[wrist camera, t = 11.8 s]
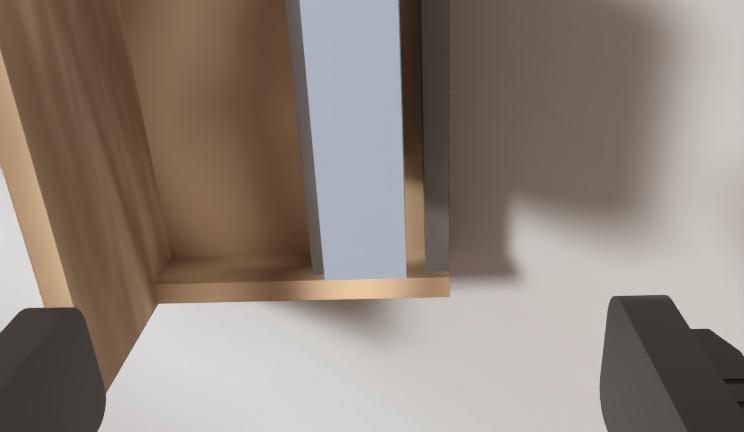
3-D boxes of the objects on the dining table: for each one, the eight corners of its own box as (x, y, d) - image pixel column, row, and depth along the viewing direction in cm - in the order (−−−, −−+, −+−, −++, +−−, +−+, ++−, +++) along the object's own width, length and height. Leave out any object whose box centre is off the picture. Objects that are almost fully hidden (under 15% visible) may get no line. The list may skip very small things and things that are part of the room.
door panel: (396, -91, 25) (395, -80, 16) (404, 160, 30) (406, 278, 21) (330, -87, 25) (292, -75, 16) (347, 162, 30) (324, 280, 21)
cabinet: (442, -233, 24) (468, -305, 15) (444, 257, 33) (462, 397, 24) (60, -208, 25) (-131, -263, 16) (161, 265, 34) (73, 403, 25)
